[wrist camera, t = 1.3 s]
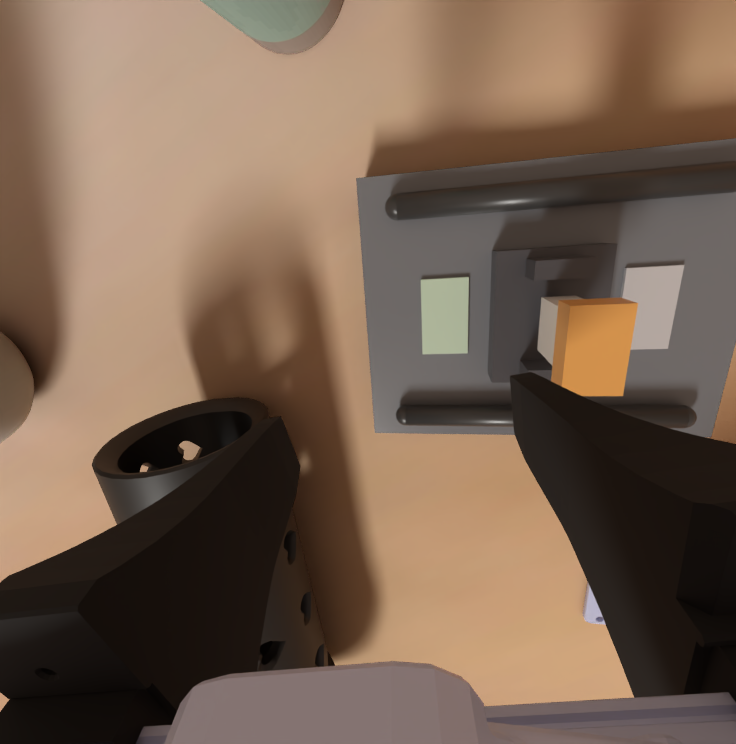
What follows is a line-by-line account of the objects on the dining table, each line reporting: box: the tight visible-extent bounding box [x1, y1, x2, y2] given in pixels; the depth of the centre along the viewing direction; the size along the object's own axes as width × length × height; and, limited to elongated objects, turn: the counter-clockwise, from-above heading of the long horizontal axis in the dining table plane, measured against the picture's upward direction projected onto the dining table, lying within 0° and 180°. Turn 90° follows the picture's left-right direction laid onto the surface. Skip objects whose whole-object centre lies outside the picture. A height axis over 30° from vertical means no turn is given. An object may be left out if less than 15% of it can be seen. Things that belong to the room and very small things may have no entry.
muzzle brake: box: [92, 397, 335, 672], centre depth 26 cm, size 10×28×10 cm, turn 8°
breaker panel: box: [356, 138, 736, 437], centre depth 19 cm, size 18×14×5 cm
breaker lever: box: [537, 296, 638, 396], centre depth 15 cm, size 2×3×4 cm, turn 4°
